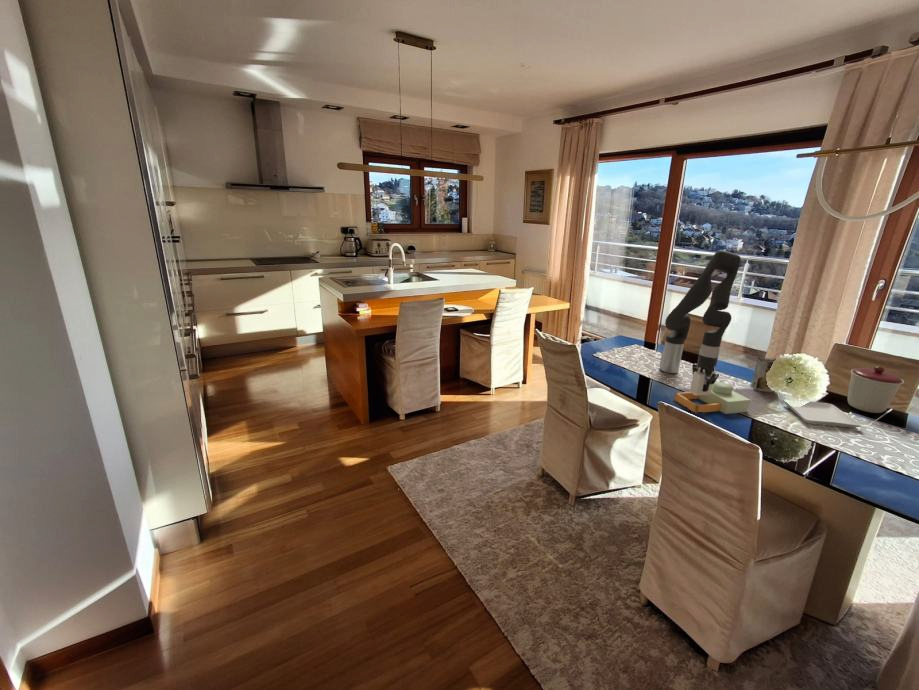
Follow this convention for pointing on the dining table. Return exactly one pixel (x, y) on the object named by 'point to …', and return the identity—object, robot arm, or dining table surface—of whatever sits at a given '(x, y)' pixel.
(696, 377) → the white block
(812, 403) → the salad plate
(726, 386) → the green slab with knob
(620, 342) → the dining table surface
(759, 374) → the coffee box
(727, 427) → the dining table surface
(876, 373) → the canister
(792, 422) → the dining table surface
